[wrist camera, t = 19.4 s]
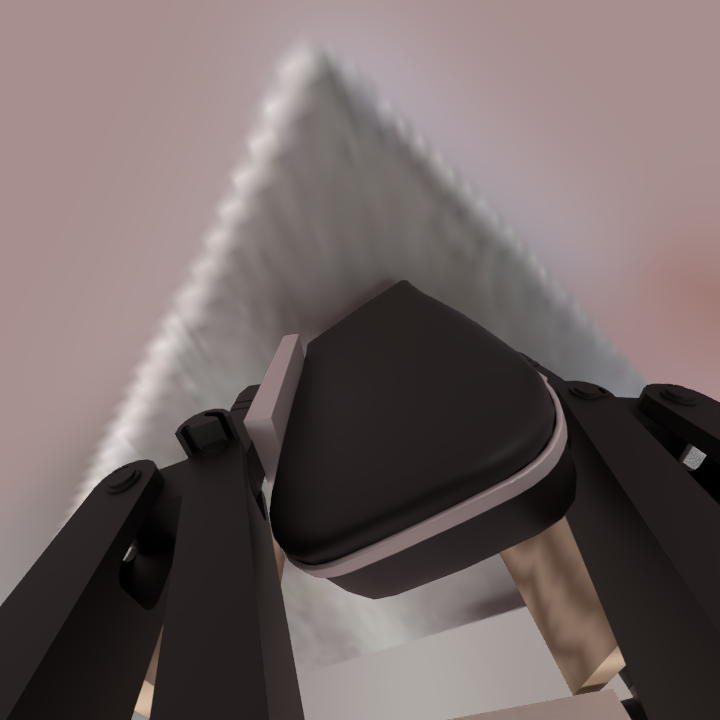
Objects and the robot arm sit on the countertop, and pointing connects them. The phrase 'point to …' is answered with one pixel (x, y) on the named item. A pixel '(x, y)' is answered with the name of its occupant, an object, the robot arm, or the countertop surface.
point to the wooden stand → (532, 611)
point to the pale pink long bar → (563, 709)
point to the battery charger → (415, 449)
